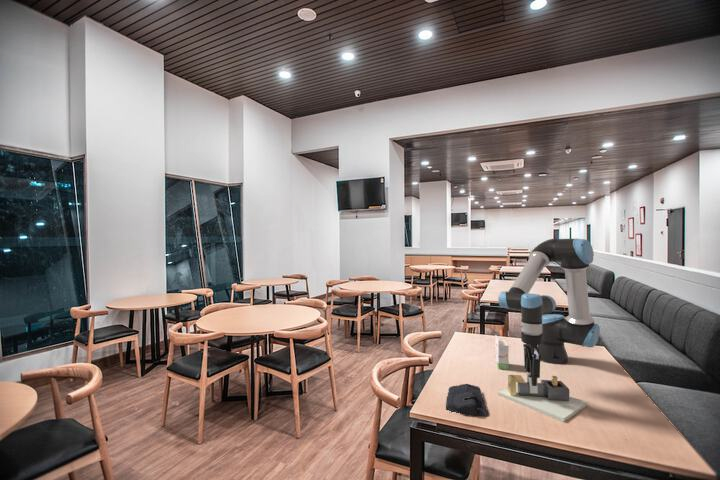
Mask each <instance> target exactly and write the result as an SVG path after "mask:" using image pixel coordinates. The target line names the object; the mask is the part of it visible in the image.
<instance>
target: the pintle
mask: <svg viewBox="0 0 720 480" xmlns="http://www.w3.org/2000/svg"><path fill="white" fill-rule="evenodd" d="M551 380H552V387H558V381H559V380H558V376H556V375H552V376H551Z"/></svg>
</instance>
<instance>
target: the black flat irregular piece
mask: <svg viewBox="0 0 720 480" xmlns="http://www.w3.org/2000/svg"><path fill="white" fill-rule="evenodd" d="M448 390H449V392H447V395H448V396H447V395H446V401H445V407H446V409H445V410H446V411H448V410H449V411H451V412H450V413H452V412H456V413H455V414H459V413H460V415H462V414H465V415H464V416H469V415H471V416H472V417H483V416H484V417H487V416H488V415H489V413H488V412H489V411H488V409H487V406H486V403H485V398H484V396H483V394H482V390H481V388H480V386H478V385H473V384H471V383H470V384H469V383H464V384H459V385H451V386H449V387H448ZM449 411H448V412H449ZM478 415H479V416H478Z"/></svg>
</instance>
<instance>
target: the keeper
mask: <svg viewBox="0 0 720 480" xmlns="http://www.w3.org/2000/svg"><path fill="white" fill-rule="evenodd" d="M525 381H526V380H525V379H524V377H523V375H521V374H508V375H507V383H508V384H507V386H508V387H507V388H508V392H509V393H510V395H511V396H516V383H518V382H519V383H525Z"/></svg>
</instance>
